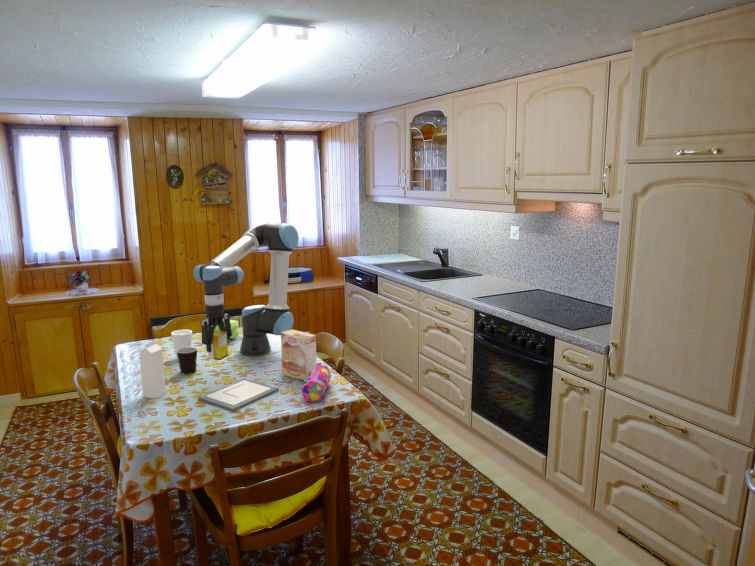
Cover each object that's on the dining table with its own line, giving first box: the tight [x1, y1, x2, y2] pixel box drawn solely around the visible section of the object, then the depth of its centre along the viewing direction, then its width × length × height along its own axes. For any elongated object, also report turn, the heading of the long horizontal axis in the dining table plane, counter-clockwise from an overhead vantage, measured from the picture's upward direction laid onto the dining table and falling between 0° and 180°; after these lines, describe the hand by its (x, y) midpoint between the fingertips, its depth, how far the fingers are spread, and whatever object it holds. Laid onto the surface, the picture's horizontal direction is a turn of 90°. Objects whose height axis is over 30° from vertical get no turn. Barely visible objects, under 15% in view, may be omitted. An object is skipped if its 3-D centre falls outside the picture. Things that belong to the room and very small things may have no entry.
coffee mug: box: [177, 346, 198, 375], centre depth 237 cm, size 12×9×10 cm
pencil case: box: [301, 362, 331, 403], centre depth 212 cm, size 22×9×9 cm, turn 179°
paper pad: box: [197, 378, 280, 412], centre depth 211 cm, size 24×20×1 cm
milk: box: [139, 340, 167, 400], centre depth 208 cm, size 6×6×22 cm
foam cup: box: [170, 329, 193, 360], centre depth 253 cm, size 10×9×13 cm
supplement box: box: [212, 330, 229, 361], centre depth 222 cm, size 6×6×11 cm
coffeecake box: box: [280, 328, 317, 382], centre depth 229 cm, size 15×7×20 cm, turn 53°
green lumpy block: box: [214, 319, 240, 340], centre depth 284 cm, size 15×14×11 cm
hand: (218, 356), depth 223 cm, fingers closed on supplement box, 7 cm apart
